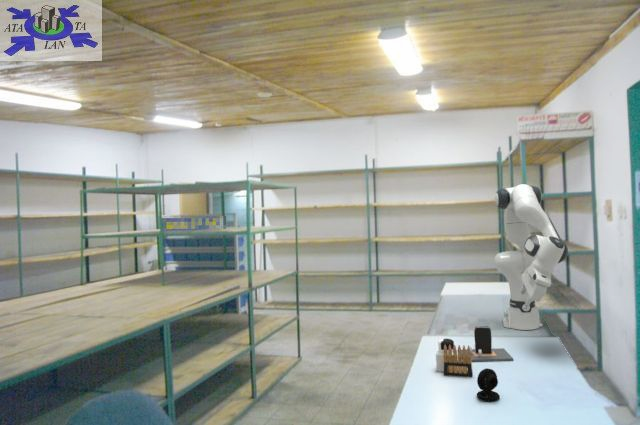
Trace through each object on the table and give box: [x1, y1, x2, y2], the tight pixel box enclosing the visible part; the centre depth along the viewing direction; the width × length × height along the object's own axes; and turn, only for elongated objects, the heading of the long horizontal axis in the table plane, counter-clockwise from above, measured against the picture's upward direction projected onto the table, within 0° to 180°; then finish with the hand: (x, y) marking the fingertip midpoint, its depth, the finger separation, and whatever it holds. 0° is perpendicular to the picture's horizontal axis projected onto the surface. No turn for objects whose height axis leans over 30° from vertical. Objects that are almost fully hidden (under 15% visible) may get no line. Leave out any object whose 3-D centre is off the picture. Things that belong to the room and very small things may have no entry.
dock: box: [456, 346, 514, 363], centre depth 215 cm, size 14×20×4 cm
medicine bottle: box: [435, 338, 458, 373], centre depth 202 cm, size 7×7×12 cm
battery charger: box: [473, 325, 493, 354], centre depth 217 cm, size 7×4×11 cm, turn 73°
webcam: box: [476, 368, 500, 403], centre depth 172 cm, size 8×8×10 cm
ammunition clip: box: [443, 344, 474, 378], centre depth 195 cm, size 11×2×12 cm, turn 70°
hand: (524, 298), depth 221 cm, fingers open, 8 cm apart
